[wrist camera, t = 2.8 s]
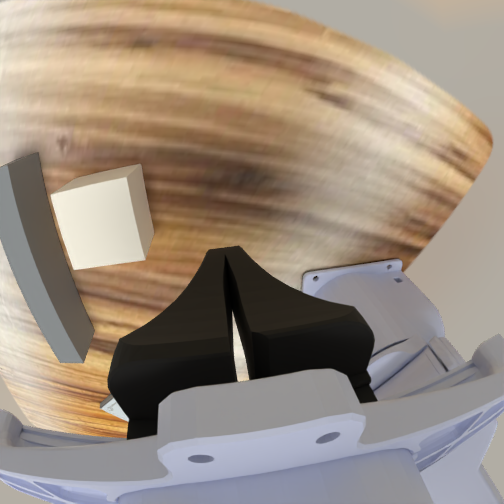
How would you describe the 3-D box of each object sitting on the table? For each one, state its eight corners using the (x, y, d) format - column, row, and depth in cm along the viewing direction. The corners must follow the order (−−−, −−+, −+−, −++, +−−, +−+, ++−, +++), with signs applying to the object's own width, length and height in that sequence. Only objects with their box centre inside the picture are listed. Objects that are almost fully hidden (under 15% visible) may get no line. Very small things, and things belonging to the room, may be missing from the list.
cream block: (141, 163, 18) (126, 177, 14) (154, 232, 20) (145, 260, 16) (76, 177, 17) (50, 194, 14) (92, 242, 19) (74, 270, 16)
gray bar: (38, 152, 15) (7, 164, 12) (94, 330, 23) (83, 363, 20) (14, 160, 15) (-17, 174, 12) (72, 331, 23) (60, 362, 19)
